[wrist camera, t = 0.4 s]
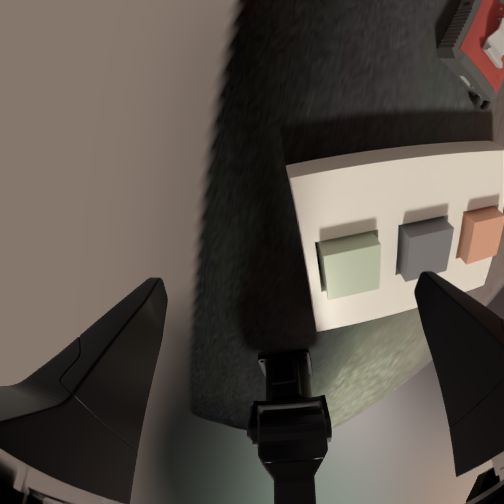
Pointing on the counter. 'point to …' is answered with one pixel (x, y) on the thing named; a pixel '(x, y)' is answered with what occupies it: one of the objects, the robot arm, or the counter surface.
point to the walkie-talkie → (476, 49)
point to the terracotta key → (480, 234)
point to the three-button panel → (392, 214)
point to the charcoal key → (423, 247)
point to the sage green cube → (350, 264)
